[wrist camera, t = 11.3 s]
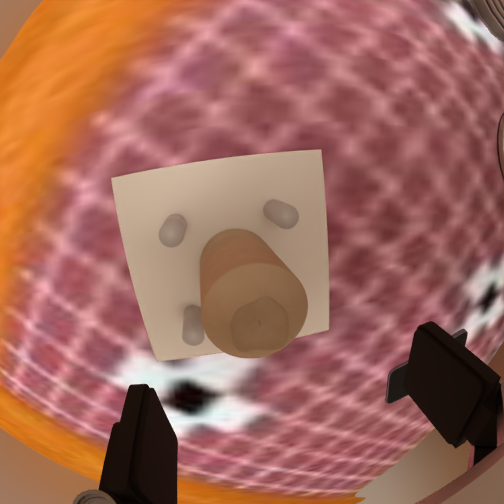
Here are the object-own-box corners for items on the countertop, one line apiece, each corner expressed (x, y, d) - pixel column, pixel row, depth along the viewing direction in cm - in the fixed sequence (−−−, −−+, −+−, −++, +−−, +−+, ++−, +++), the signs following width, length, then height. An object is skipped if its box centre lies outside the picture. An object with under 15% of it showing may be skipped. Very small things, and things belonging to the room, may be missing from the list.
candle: (284, 263, 23) (338, 324, 14) (232, 308, 24) (255, 390, 14) (238, 212, 22) (270, 247, 12) (184, 262, 22) (176, 330, 12)
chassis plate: (313, 150, 23) (341, 147, 18) (322, 322, 27) (344, 349, 23) (116, 177, 21) (95, 180, 16) (158, 352, 25) (153, 386, 20)
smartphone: (389, 371, 31) (468, 328, 32) (385, 366, 32) (464, 325, 34) (385, 406, 34) (460, 364, 35) (382, 401, 35) (456, 361, 36)
